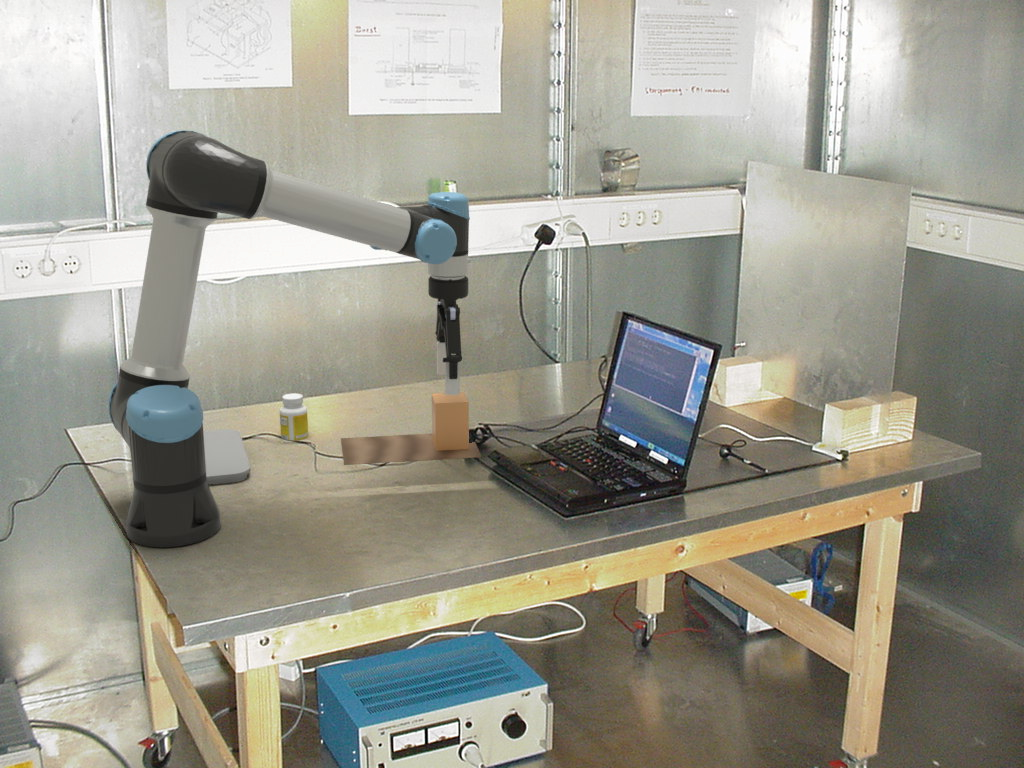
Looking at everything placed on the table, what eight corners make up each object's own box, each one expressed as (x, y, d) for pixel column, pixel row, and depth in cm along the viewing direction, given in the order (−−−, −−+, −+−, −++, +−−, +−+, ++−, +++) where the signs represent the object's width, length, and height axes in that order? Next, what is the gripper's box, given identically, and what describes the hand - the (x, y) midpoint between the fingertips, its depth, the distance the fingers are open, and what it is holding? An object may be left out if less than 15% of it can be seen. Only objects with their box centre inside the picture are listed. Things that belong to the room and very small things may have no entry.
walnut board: (344, 472, 230) (343, 464, 230) (341, 445, 245) (340, 438, 244) (481, 464, 235) (481, 457, 234) (470, 438, 249) (470, 431, 248)
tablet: (239, 438, 250) (238, 427, 249) (252, 483, 226) (251, 472, 225) (156, 446, 245) (155, 435, 244) (160, 493, 221) (159, 481, 221)
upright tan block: (435, 450, 237) (435, 403, 235) (432, 439, 243) (431, 393, 241) (468, 449, 238) (468, 401, 236) (464, 438, 245) (464, 391, 242)
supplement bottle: (311, 438, 248) (309, 392, 245) (304, 448, 243) (302, 400, 240) (285, 437, 249) (283, 391, 246) (277, 447, 244) (275, 399, 241)
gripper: (477, 289, 220) (476, 402, 226) (459, 262, 244) (458, 366, 250) (436, 290, 219) (436, 404, 225) (421, 263, 242) (422, 367, 248)
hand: (448, 384), depth 237 cm, fingers open, 13 cm apart
